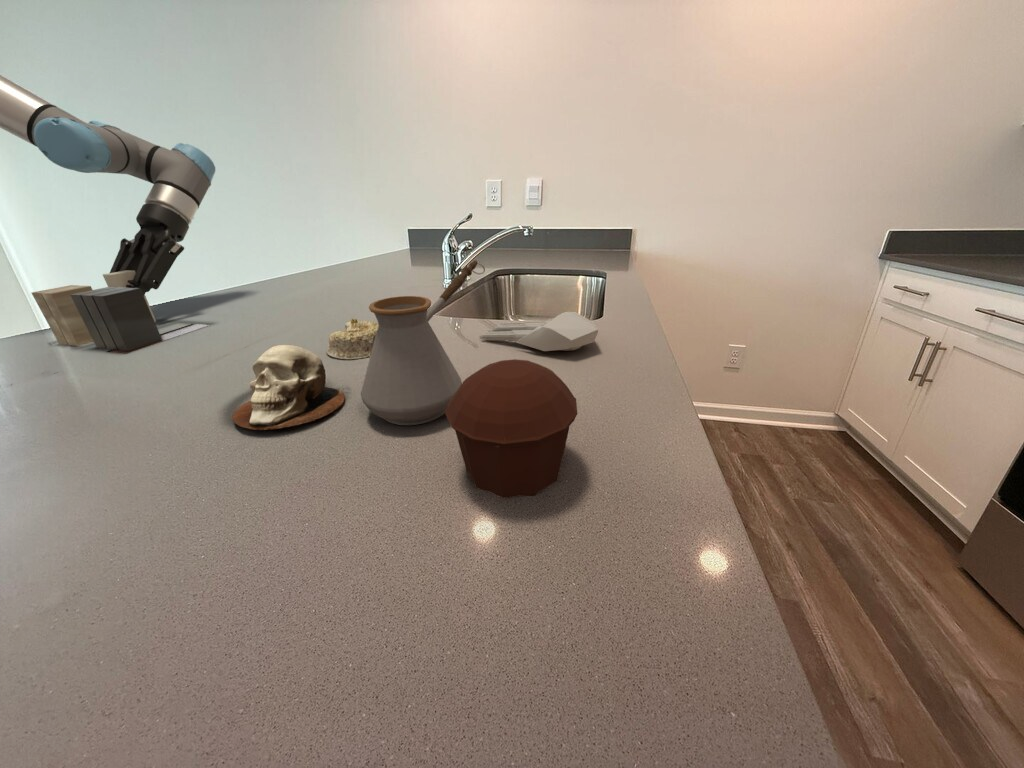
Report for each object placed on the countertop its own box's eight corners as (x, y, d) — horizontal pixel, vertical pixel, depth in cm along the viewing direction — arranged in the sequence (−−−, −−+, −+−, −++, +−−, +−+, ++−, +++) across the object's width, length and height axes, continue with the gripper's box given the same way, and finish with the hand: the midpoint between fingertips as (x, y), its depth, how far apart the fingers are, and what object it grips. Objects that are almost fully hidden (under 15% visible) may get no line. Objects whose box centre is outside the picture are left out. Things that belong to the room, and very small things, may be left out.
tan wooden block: (50, 352, 69) (17, 293, 65) (142, 325, 82) (119, 274, 78) (84, 356, 67) (52, 295, 63) (172, 328, 80) (151, 275, 76)
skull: (304, 434, 42) (224, 362, 40) (264, 476, 47) (192, 413, 45) (369, 381, 52) (308, 322, 50) (331, 420, 57) (274, 367, 55)
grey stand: (93, 356, 67) (61, 295, 63) (180, 328, 80) (159, 276, 76) (129, 360, 65) (99, 297, 61) (212, 331, 78) (192, 277, 74)
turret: (505, 338, 77) (500, 313, 75) (608, 337, 67) (606, 308, 65) (475, 356, 69) (470, 329, 67) (588, 358, 59) (585, 326, 57)
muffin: (497, 422, 45) (493, 337, 41) (592, 450, 40) (599, 356, 36) (426, 484, 36) (411, 383, 32) (537, 530, 31) (537, 417, 27)
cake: (395, 340, 72) (393, 310, 70) (381, 363, 63) (378, 330, 61) (338, 337, 72) (334, 308, 69) (316, 360, 63) (310, 327, 60)
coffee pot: (422, 445, 42) (401, 301, 35) (343, 420, 47) (312, 289, 40) (518, 369, 58) (516, 261, 52) (453, 356, 63) (444, 257, 57)
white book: (126, 327, 77) (102, 274, 73) (148, 321, 81) (126, 270, 76) (135, 328, 77) (111, 274, 72) (156, 322, 80) (134, 270, 76)
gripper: (214, 227, 83) (166, 331, 76) (157, 228, 87) (106, 326, 80) (179, 200, 76) (123, 311, 69) (118, 201, 80) (59, 307, 73)
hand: (114, 319), depth 74 cm, fingers open, 2 cm apart
